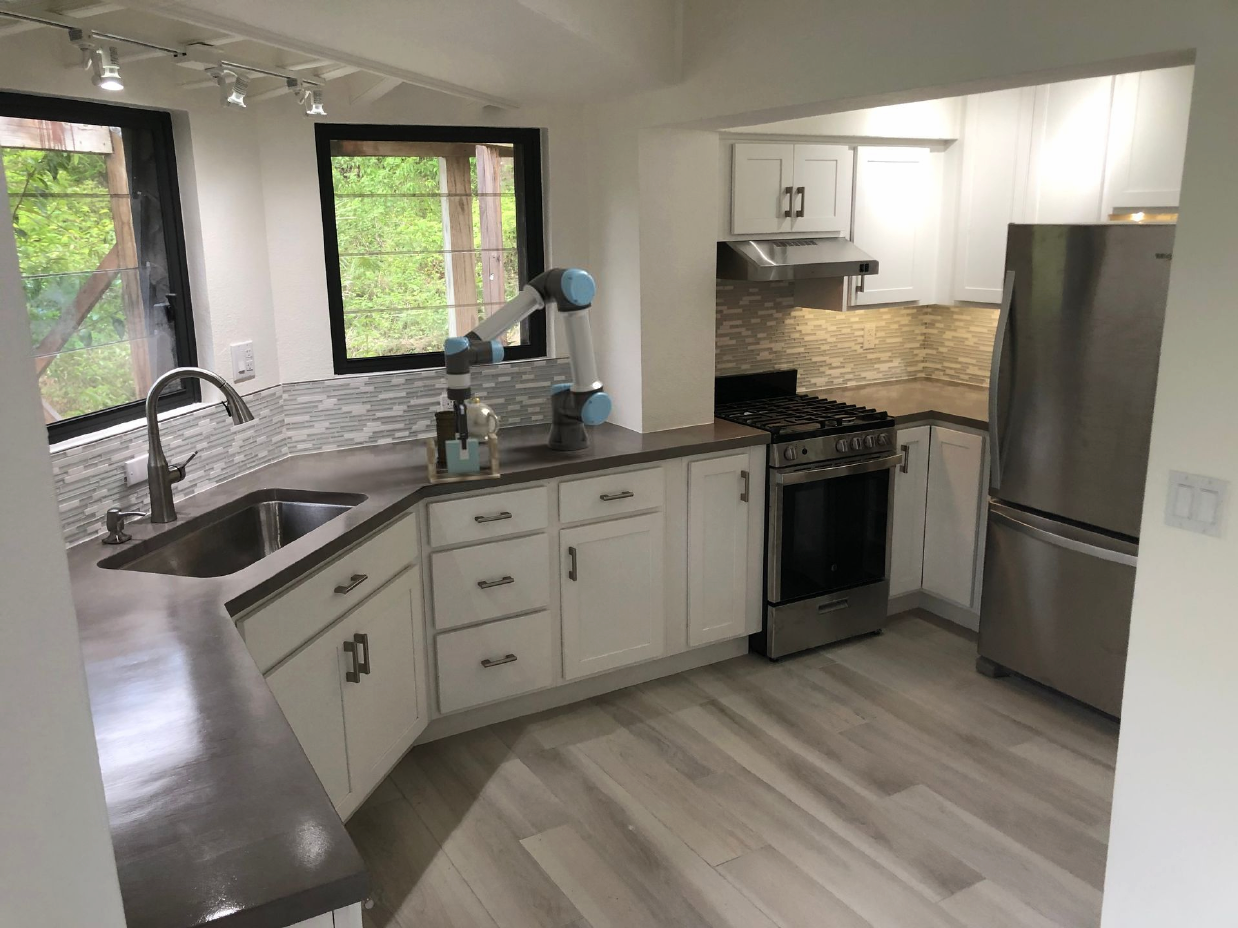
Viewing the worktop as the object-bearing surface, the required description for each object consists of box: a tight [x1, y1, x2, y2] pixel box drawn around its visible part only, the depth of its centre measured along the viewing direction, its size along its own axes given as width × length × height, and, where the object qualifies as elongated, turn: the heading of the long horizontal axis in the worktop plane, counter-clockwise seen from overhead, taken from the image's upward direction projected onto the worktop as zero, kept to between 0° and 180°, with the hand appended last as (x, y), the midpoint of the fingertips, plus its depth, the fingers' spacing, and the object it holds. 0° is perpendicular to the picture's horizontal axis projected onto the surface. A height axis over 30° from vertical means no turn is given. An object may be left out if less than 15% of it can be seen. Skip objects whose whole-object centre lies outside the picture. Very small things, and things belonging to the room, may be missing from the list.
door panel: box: [445, 439, 480, 474], centre depth 313 cm, size 10×4×11 cm, turn 106°
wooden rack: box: [425, 433, 501, 484], centre depth 313 cm, size 22×11×13 cm, turn 106°
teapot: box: [466, 397, 500, 444], centre depth 362 cm, size 18×14×16 cm
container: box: [434, 410, 456, 468], centre depth 328 cm, size 9×9×18 cm
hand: (462, 455), depth 313 cm, fingers open, 9 cm apart
